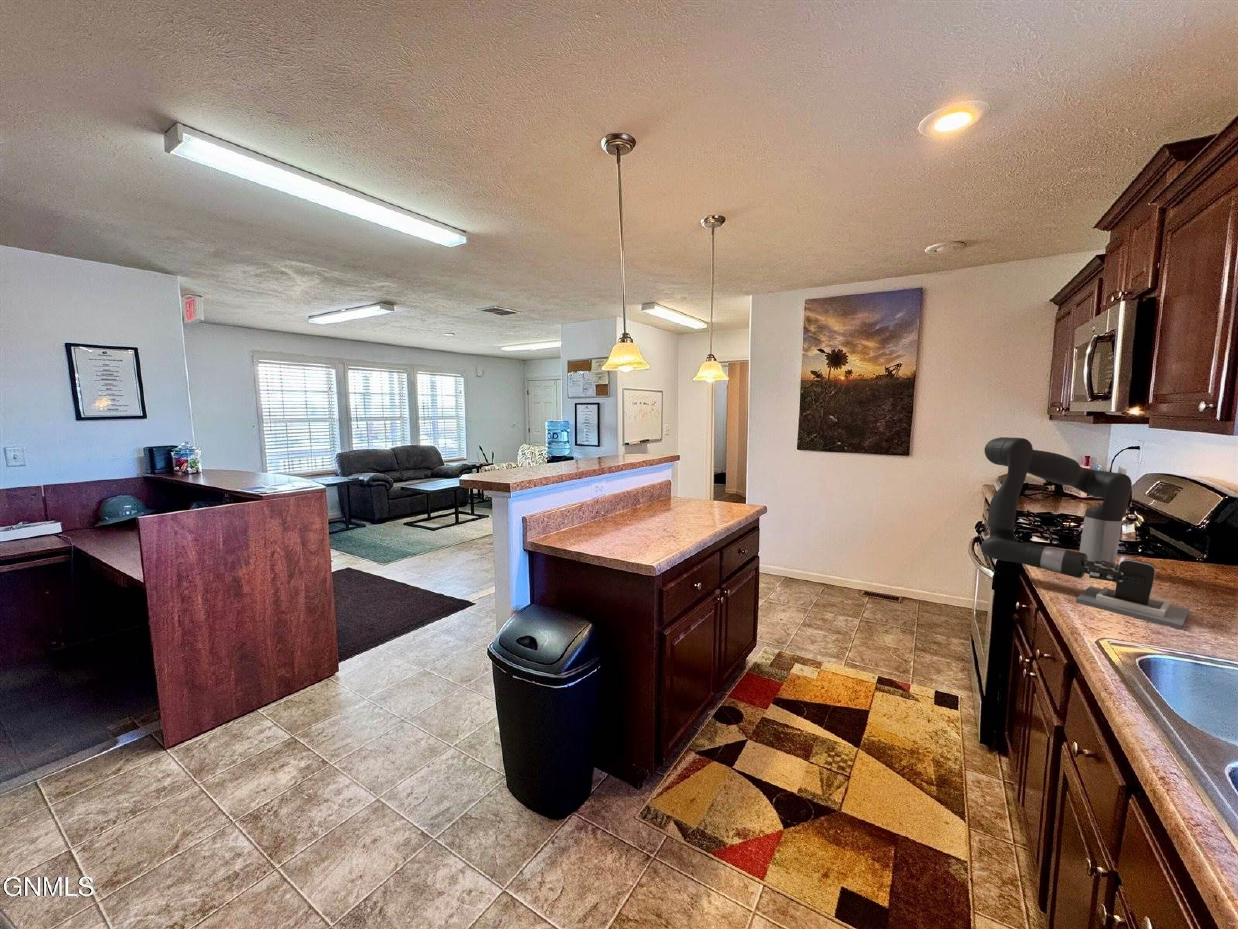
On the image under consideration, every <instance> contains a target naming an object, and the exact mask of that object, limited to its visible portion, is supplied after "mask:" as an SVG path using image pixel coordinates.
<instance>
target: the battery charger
mask: <svg viewBox="0 0 1238 929" xmlns="http://www.w3.org/2000/svg"><path fill="white" fill-rule="evenodd" d="M1118 565H1119V567H1118V570H1117V571H1119V572H1123V573H1127V574H1132V575H1136V576H1141V577H1144V578H1145V581H1144V584H1143V585H1138V584H1134V583H1129V582H1125V581H1124V580H1123V582H1115V589H1114V590H1115V594H1114V597H1116V598H1119V599H1123V600H1126V601H1130V602H1135V603H1139V604H1144V605H1148V604H1149V599H1150V598H1151V594H1152V591H1153V587H1154V582H1155V577H1156V567H1155V565H1154V564H1152V563H1150V562H1146V561H1141V560H1136V559H1130V558H1129V559H1128V558H1125V559H1123V560H1121V561H1120V563H1119V564H1118Z"/></svg>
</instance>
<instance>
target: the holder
mask: <svg viewBox="0 0 1238 929" xmlns="http://www.w3.org/2000/svg"><path fill="white" fill-rule="evenodd" d="M1114 594H1115V589H1112V588H1109V587H1103V588H1099V587H1095V586H1091V585H1090V586H1088V587H1087V588H1086V589H1085V590H1084V591H1083V592H1081V593H1080V595H1078V596H1077V597H1076V598H1075V603H1076V602H1077V604H1080V603H1081V605H1085V606H1089V607H1092V606H1093V607H1092V608H1095V609H1100V610H1103V609H1104V611H1107V612H1112V613H1115V614H1118V613H1119V614H1120V615H1122V616H1127V617H1130V616H1131V617H1130V618H1135V619H1139V620H1142V619H1143V621H1145V620H1146V621H1145V622H1150V623H1153V624H1158V625H1161V626H1165V627H1168V626H1170V627H1169V628H1172V627H1173V629H1176V630H1183V627H1184V626H1185V624H1186V621H1187V619H1188V618H1189V615H1190V613H1191V609H1188V608H1184V607H1179V606H1175V605H1171V602H1169V601H1164V600H1160V599H1156V598H1152V597H1150V599H1149V604H1148V605H1144V604H1139V603H1135V602H1130V601H1126V600H1123V599H1119V598H1116V597H1114Z"/></svg>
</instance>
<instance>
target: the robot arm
mask: <svg viewBox="0 0 1238 929" xmlns="http://www.w3.org/2000/svg"><path fill="white" fill-rule="evenodd" d="M983 452H984V455H985V457H986V458H987V460H988V461H989V462H990V463H991V464H994V465H998V466H1002V467H1007V473H1006V477H1005V479H1004V480H1003V483H1002V484H1001V486H999V488H998V489H997V491H996V492H995V493H994V495H993V496H992V498H991V500H990V502H989V507H988V513H987V514H988V515H987V525H988V527H989V537H987V538H985V539H984V540H983V541H982V542H981V545H980V548H981V551H982V553H983V554H984V556H987V557H989V558H990V559H994V560H999V561H1004V562H1010V563H1018V564H1023V565H1026V566H1031V567H1035V568H1037V569H1043V570H1046V571H1049V572H1051V573H1056V574H1060V575H1064V576H1069V577H1074V578H1078V579H1082V578H1083V577H1084V575H1085V574H1086V575H1088V577H1089V578H1090V579H1096V580H1101V581H1105V582H1106V581H1107V582H1111V583H1116V582H1123V580H1124V581H1125V582H1129V583H1134V584H1138V585H1143V584H1144V581H1145V578H1144V577H1141V576H1136V575H1132V574H1127V573H1123V572H1119V571H1118V567H1119V564H1117V563H1116V561H1117V555H1118V549H1119V544H1120V537H1121V530H1122V524H1123V519H1124V515H1125V514H1126V512H1127V509H1128V507H1129V506H1128V505H1129V501H1130V498H1131V493H1132V486H1133V484H1132V480H1131V477H1130V476H1129V475H1127V474H1124V473H1119V472H1114V471H1113V472H1112V471H1104V470H1096V469H1089V468H1086V467H1082V466H1081V465H1080V464H1079V462H1078V461H1077V460H1075V459H1073V458H1071V457H1068V456H1066V455H1062V454H1059V453H1054V452H1051V451H1045V450H1038V449H1034V447H1033V444H1032V443H1031V441H1030V440H1029V439H1027V438H1025V437H1024V438H1023V437H1004V436H1003V437H996V438H995V437H994V438H992V439H991V440H989V441H988V442H987V443H986V444H985V447H984V451H983ZM1027 475H1032V476H1034V477H1037V478H1040V479H1043V480H1045V481H1048V482H1051V483H1054V484H1058V485H1062V486H1065V487H1067V486H1069V487H1071V488H1074V489H1076V490H1079V491H1080V492H1082V493H1084V494H1085V495H1086V494H1087V495H1088V496H1091V497H1095V498H1099V499H1103V502H1102V503H1101V505H1098V506H1090V507H1087V508H1086V509H1085V513H1084V518H1083V525H1082V526H1083V527H1082V532H1081V537H1080V538H1081V539H1080V545H1079V551H1075V550H1071V549H1065V548H1060V547H1056V546H1055V547H1054V546H1047V545H1041V544H1037V543H1036V544H1035V543H1032V542H1018V541H1016V540H1015V522H1016V516H1017V508H1018V503H1019V498H1020V495H1021V491H1022V489H1023V486H1024V485H1025V484H1024V483H1025V481H1026V478H1027Z"/></svg>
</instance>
